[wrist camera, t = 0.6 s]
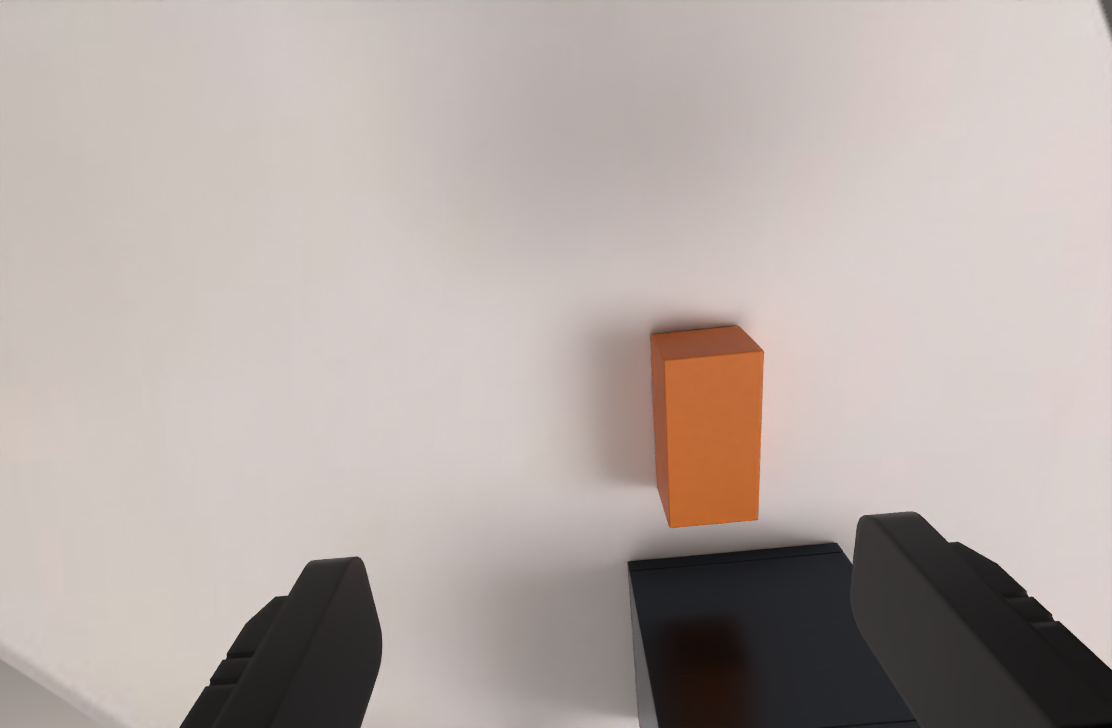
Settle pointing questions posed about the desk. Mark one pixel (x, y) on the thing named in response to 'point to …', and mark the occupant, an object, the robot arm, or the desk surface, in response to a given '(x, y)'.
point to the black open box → (755, 643)
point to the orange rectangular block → (707, 424)
